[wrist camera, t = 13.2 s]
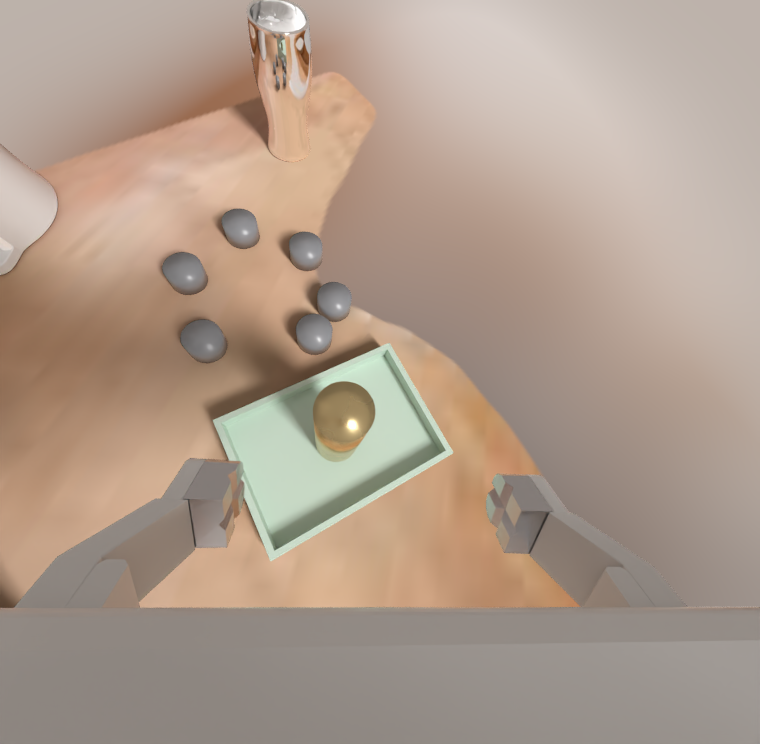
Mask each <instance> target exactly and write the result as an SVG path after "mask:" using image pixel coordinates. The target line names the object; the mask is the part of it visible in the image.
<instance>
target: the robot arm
mask: <svg viewBox="0 0 760 744" xmlns="http://www.w3.org/2000/svg"><path fill="white" fill-rule="evenodd" d="M57 207H58V201H57V196H56V193H55V191H54V189H53V187H52V186H51V184H50V183H49V182H48V181H47V180H46V179H45V178H43V177H42V176H41V175H39V174H38V173H36V172H35V171H33V170H32V169H31V168H29V167H28V166H27V165H25V164H24V163H23V162H21V161H20V160H19V159H18V158H16V157H15V156H14V155H13V154H12V153H10V152H9V151H8V150H7V149H6V148H5V147H4V146H2V145H1V144H0V275H3V274H6V273H8V272H9V271H10V270H12V269H13V267H14V266H15V265H16V263H17V262H18V260H19V258H20V256H21V255H22V253H23V251H24V250H25V249H26V248H27V247H28V246H30V245H31V244H32V243H33V242H35V241H36V240H37V239H38V238H40V237H41V236H42V235H43V234H44V233H45V232H46V231H47V229H48V228H49V227H50V225H51V224H52V222H53V220H54V218H55V216H56V212H57ZM243 472H244V469H243V463H242V462H241V461H229V460H215V459H196V458H190V459H188V460H187V461H186V462H185V463H184V465H183V466H182V468H181V469H180V471H179V472H178V474H177V475H176V477H175V478H174V480H173V481H172V483H171V484H170V486H169V487H168V489H167V490H166V492H165V493H164V495H163V496H162V498H161V499H154V500H152V501H151V502H149V503H147V504H146V505H144V506H142V507H140V508H139V509H137V510H135V511H134V512H132V513H130V514H129V515H127V516H125V517H124V518H122V519H120V520H118V521H117V522H115V523H113V524H112V525H110V526H108V527H107V528H105V529H103V530H102V531H100V532H98V533H97V534H95V535H93V536H91V537H90V538H88V539H86V540H85V541H83V542H81V543H80V544H78V545H76V546H75V547H73V548H71V549H69V550H68V551H66V552H64V553H63V554H61V555H59V556H58V557H57V558H56V559H55V560H54V561H53V562H52V563H51V565H50V566H49V567H48V568H47V569H46V570H45V572H44V573H43V574H42V575H41V576H40V578H39V579H38V580H37V581H36V582H35V583H34V585H33V586H32V587H31V588H30V589H29V590H28V592H27V593H26V594H25V595H24V596H23V598H22V599H21V600H20V601H19V602H18V603H17V605H16V606H15V607H14V608H0V744H760V607H688V606H687V605H686V604H685V603H684V602H683V601H682V599H681V598H680V597H679V596H678V595H677V593H676V592H675V591H674V590H673V589H672V588H671V586H670V585H669V584H668V583H667V581H666V580H665V579H664V578H663V577H662V575H661V574H660V573H659V572H658V571H657V570H656V568H655V567H654V566H653V565H651V564H649V563H648V562H647V561H645V560H643V559H642V558H641V557H639V556H638V555H636V554H635V553H633V552H632V551H630V550H629V549H627V548H626V547H624V546H623V545H621V544H620V543H618V542H617V541H615V540H613V539H612V538H610V537H609V536H607V535H606V534H604V533H603V532H601V531H600V530H598V529H597V528H595V527H594V526H592V525H591V524H589V523H588V522H586V521H585V520H583V519H582V518H580V517H579V516H577V515H576V514H574V513H569V512H568V510H567V509H566V508H565V506H564V505H563V503H562V502H561V500H560V499H559V498H558V496H557V495H556V494H555V492H554V491H553V489H552V488H551V487H550V485H549V484H548V483H547V481H546V480H545V478H544V477H542V476H541V475H516V474H496V476H495V477H494V479H493V482H492V484H493V486H494V489H493V490H492V491H490V492H489V493H488V496H487V500H486V510H487V515H488V518H489V520H490V522H491V523H492V524H493V525H494V526H495V527H497V528H498V529H497V532H496V536H497V538H498V540H499V543H500V545H501V547H502V549H503V552H504V553H520V554H530V556H531V557H532V558H533V559H534V560H535V561H536V562H537V563H538V564H539V565H540V566H541V567H542V568H543V569H544V570H545V571H546V572H547V573H548V574H549V575H550V576H551V577H552V578H553V579H554V580H555V581H556V582H557V583H558V584H559V585H560V586H561V587H562V588H563V589H564V590H565V591H566V592H567V593H568V594H569V595H570V596H571V597H572V598H573V599H574V600H575V601H576V602H577V603H578V604H579V605H580V606H581V607H366V608H140V605H139V601H140V600H142V599H143V598H144V597H145V596H146V595H147V594H148V593H149V592H150V591H151V590H152V589H153V588H154V587H156V586H157V585H158V584H159V583H160V582H161V581H162V580H163V579H164V578H165V577H166V576H167V575H168V574H169V573H171V572H172V571H173V570H174V569H175V568H176V567H177V566H178V565H179V564H180V563H181V562H182V561H183V560H184V559H186V558H187V557H188V556H189V555H190V554H191V553H192V552H193V551H194V550H195V548H215V547H227V546H228V543H229V541H230V538H231V535H232V533H233V530H234V518H236V517H237V516H238V515H239V514H240V511H241V508H242V504H243V500H244V491H245V486H244V482H243V481H242V480H241V477H242V475H243Z"/></svg>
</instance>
